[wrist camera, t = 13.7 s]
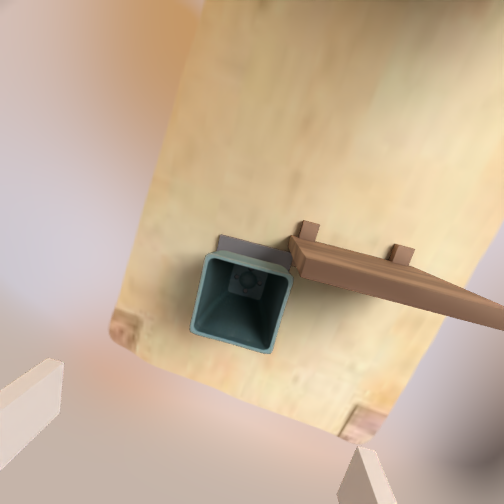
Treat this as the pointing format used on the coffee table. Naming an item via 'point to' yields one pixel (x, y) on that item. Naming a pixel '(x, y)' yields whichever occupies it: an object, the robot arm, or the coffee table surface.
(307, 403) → the coffee table surface
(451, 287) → the screen
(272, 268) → the flower pot
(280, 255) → the mat
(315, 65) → the coffee table surface
